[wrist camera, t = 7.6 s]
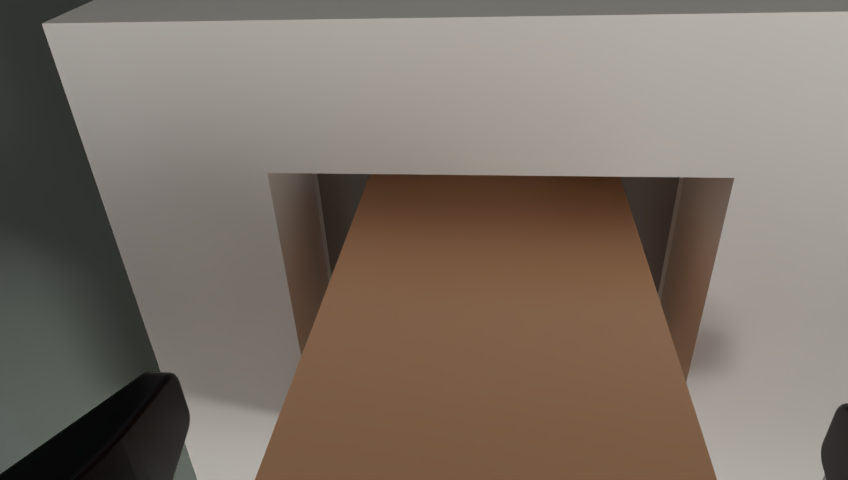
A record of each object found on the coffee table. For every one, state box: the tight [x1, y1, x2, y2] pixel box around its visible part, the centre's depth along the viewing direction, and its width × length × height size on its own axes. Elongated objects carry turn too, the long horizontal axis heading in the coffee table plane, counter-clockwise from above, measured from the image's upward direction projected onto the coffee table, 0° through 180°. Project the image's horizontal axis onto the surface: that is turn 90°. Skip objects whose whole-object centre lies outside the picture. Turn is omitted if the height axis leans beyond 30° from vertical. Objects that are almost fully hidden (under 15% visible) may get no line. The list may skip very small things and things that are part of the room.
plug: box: [255, 174, 717, 480], centre depth 9 cm, size 4×4×7 cm
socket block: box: [42, 0, 848, 480], centre depth 11 cm, size 11×10×4 cm
